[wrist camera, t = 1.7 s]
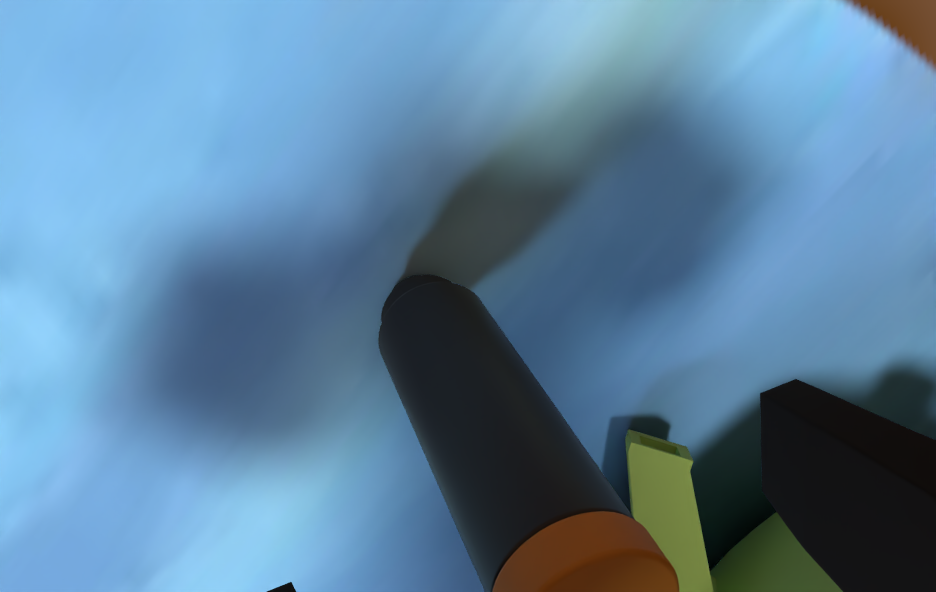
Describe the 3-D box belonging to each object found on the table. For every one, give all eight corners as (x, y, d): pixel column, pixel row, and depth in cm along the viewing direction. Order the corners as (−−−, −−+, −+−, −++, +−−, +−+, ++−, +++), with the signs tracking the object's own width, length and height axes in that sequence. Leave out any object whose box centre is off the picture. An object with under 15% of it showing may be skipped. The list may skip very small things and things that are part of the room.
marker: (477, 325, 19) (688, 643, 11) (377, 361, 19) (527, 716, 11) (455, 233, 18) (676, 524, 10) (346, 270, 17) (494, 601, 10)
